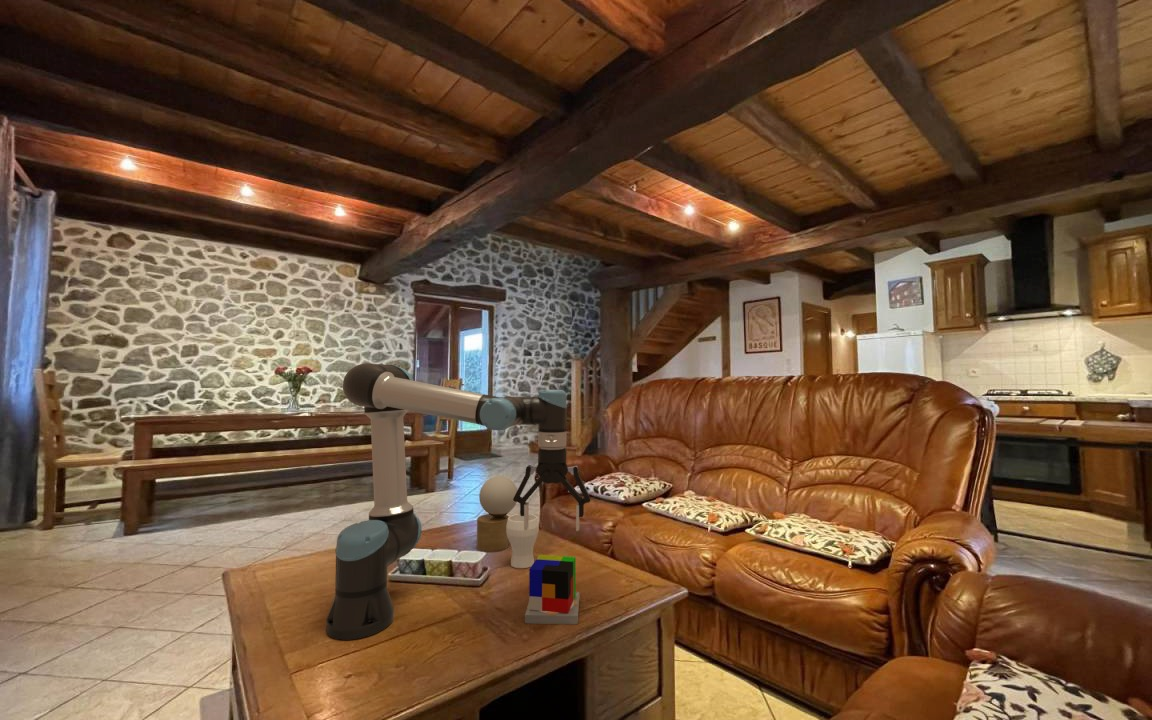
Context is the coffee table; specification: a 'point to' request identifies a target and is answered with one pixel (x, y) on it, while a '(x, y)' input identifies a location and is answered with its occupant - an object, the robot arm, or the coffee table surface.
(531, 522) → the cup
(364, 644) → the coffee table surface
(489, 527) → the lamp
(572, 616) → the plinth
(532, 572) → the puzzle toy
